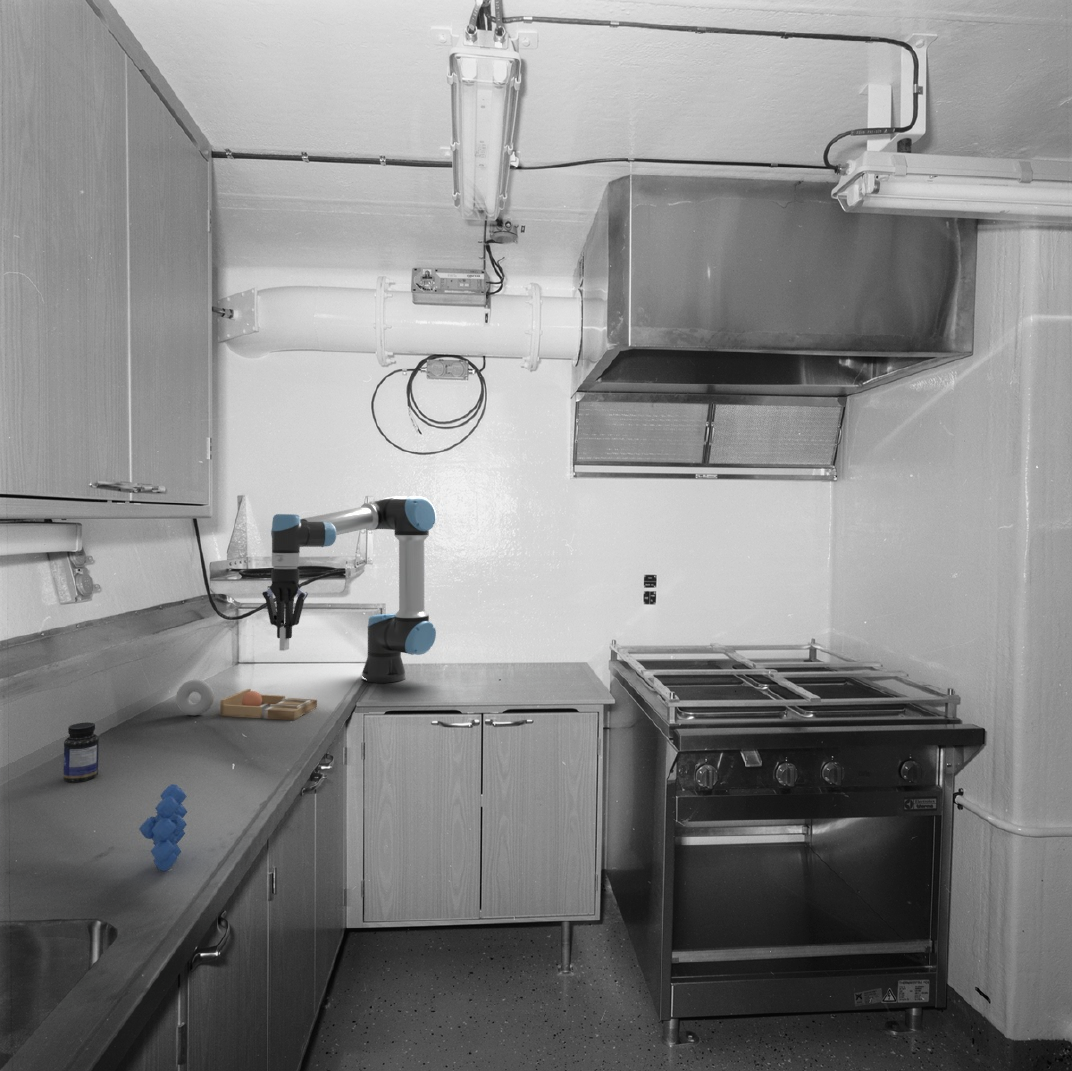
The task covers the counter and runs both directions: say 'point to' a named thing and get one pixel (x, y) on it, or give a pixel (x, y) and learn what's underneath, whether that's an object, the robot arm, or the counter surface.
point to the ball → (252, 699)
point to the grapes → (166, 827)
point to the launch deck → (290, 708)
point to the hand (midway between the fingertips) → (284, 649)
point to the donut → (185, 702)
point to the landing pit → (236, 709)
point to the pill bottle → (81, 753)
